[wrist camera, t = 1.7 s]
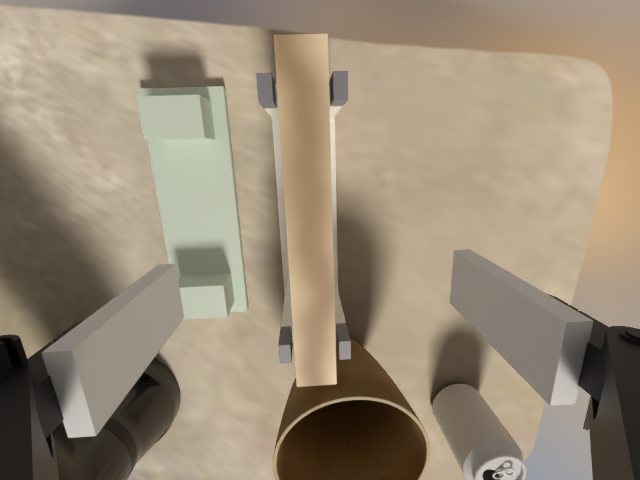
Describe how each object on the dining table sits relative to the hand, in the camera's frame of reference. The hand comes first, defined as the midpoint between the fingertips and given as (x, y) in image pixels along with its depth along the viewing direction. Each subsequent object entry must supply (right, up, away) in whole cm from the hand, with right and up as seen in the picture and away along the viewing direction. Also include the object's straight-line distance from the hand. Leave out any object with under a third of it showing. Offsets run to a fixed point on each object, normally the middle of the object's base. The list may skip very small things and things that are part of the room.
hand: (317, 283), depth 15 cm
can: (+21, -22, +33) cm, 45 cm away
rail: (-1, +3, +12) cm, 13 cm away
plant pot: (+2, -15, +30) cm, 33 cm away
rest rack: (-14, +6, +23) cm, 28 cm away
